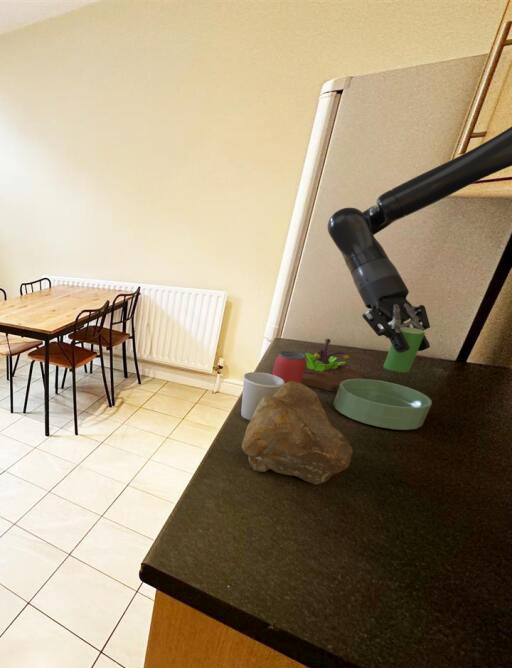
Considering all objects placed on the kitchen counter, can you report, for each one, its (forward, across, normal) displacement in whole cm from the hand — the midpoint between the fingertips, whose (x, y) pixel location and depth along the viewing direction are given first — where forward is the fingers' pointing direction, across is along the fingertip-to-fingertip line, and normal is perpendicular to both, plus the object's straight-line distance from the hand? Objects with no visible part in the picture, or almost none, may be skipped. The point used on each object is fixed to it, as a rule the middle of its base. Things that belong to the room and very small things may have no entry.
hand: (413, 349), depth 89 cm
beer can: (+1, -13, +24) cm, 28 cm away
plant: (-5, +7, +31) cm, 32 cm away
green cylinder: (+2, 0, +5) cm, 5 cm away
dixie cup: (+7, -27, +19) cm, 33 cm away
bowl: (+10, +1, +15) cm, 18 cm away
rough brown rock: (+20, -34, +5) cm, 40 cm away
